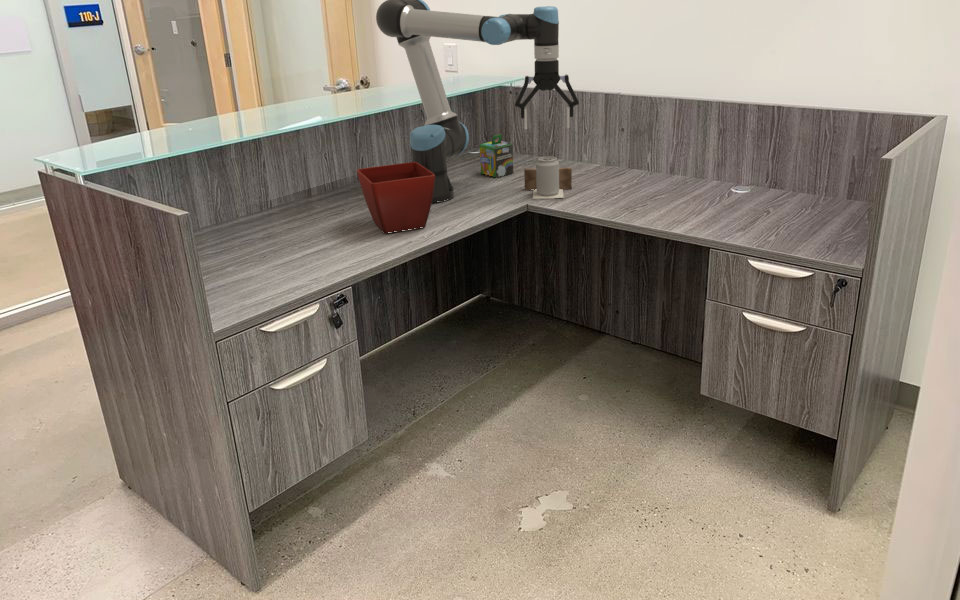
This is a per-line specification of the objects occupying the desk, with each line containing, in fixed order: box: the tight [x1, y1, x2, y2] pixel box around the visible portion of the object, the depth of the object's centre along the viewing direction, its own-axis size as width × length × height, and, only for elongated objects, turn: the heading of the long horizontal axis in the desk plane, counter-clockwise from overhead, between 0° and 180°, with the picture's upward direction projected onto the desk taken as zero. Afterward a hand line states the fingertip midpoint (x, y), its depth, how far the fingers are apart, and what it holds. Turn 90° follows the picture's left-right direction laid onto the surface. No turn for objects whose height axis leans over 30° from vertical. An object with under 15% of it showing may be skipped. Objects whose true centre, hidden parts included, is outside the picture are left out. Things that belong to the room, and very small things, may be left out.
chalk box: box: [479, 133, 514, 178], centre depth 282 cm, size 9×9×15 cm
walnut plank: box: [523, 167, 573, 191], centre depth 261 cm, size 16×2×7 cm, turn 85°
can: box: [535, 155, 560, 196], centre depth 252 cm, size 8×8×12 cm
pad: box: [532, 189, 564, 200], centre depth 255 cm, size 10×10×1 cm
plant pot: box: [356, 161, 435, 234], centre depth 228 cm, size 19×19×17 cm
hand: (547, 128), depth 246 cm, fingers open, 13 cm apart
